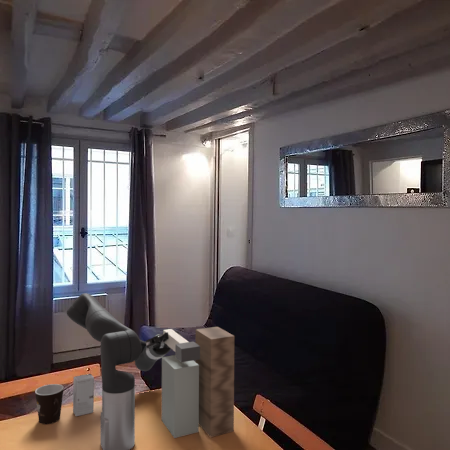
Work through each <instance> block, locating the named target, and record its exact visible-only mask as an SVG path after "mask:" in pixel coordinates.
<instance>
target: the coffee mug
mask: <svg viewBox="0 0 450 450" xmlns="http://www.w3.org/2000/svg"><path fill="white" fill-rule="evenodd" d="M34 392H35V393H34V394H35V400H36V409H37V417H38V423H39V424H41V425H52V424H54V423H57V422H59V421H60V419H61V411H62V404H63V397H64V385H62V384H58V383H54V384H53V383H50V384H45V385H42V386H39V387H37V388H36V389H35V391H34Z"/></svg>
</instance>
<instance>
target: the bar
mask: <svg viewBox="0 0 450 450" xmlns="http://www.w3.org/2000/svg"><path fill="white" fill-rule="evenodd" d="M162 331H163V332H162V334H165V333H166V332H168V337H169V339H168V340H166V341H165V344H167V345H168V346H169V347H170V348H171V349H170V350H172V351H173V352H175V354H174V355H175V357H176V358H177V359H178V360H179V361H180V362H187V361H195V360H199V359H200V346H199V345H198V344H196V341H188V340H187V339H186V338H184V337H183V336H182V335H181V336H180V335H179V334H178V333H176V332H175V330H174V329H173V328H170V329H163V330H162Z"/></svg>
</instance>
